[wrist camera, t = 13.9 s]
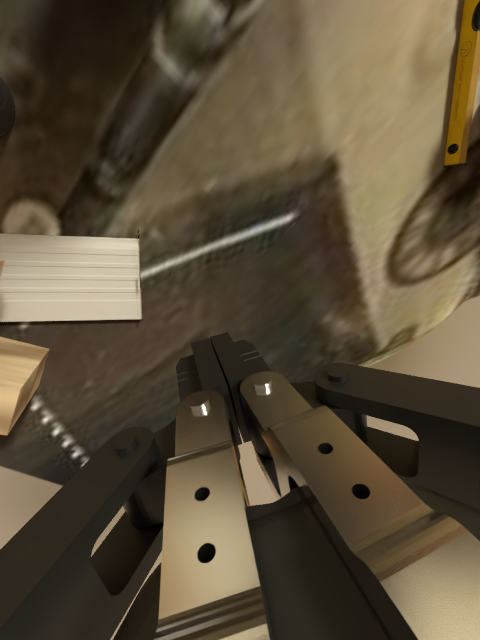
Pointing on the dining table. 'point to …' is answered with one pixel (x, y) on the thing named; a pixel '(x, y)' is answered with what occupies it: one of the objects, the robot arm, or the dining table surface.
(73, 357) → the dining table surface
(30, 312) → the baseboard
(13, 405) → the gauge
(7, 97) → the travel mug
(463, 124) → the spirit level
